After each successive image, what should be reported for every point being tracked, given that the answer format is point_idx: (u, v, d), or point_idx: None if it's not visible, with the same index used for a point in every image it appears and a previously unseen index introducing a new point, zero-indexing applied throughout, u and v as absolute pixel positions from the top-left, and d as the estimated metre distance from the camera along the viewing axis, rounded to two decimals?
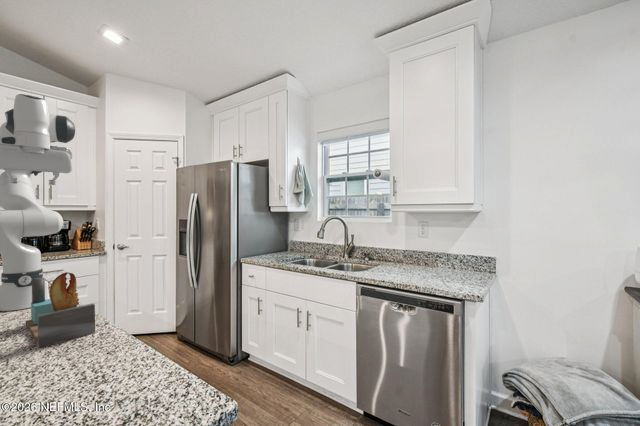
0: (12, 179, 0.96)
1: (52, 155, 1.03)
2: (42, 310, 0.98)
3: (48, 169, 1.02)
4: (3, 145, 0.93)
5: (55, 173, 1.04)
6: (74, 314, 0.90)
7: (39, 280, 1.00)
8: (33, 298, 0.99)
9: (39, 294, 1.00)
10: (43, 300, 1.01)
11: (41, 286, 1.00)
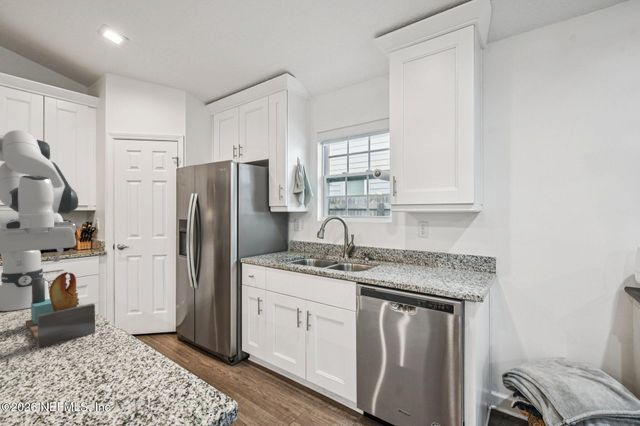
0: (17, 262, 0.96)
1: (57, 232, 1.03)
2: (42, 310, 0.98)
3: (52, 247, 1.02)
4: (8, 230, 0.93)
5: (59, 249, 1.04)
6: (74, 314, 0.90)
7: (39, 280, 1.00)
8: (33, 298, 0.99)
9: (39, 294, 1.00)
10: (43, 300, 1.01)
11: (41, 286, 1.00)
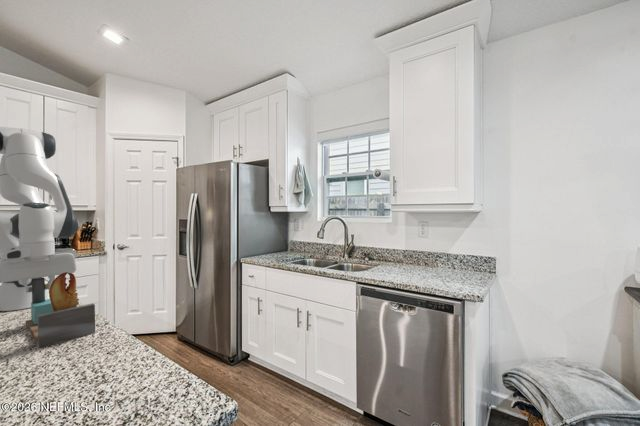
0: (28, 289, 0.98)
1: (57, 259, 1.03)
2: (42, 310, 0.98)
3: (53, 274, 1.02)
4: (8, 260, 0.93)
5: (50, 277, 1.02)
6: (74, 314, 0.90)
7: (39, 280, 1.00)
8: (33, 298, 0.99)
9: (39, 294, 1.00)
10: (43, 300, 1.01)
11: (41, 286, 1.00)
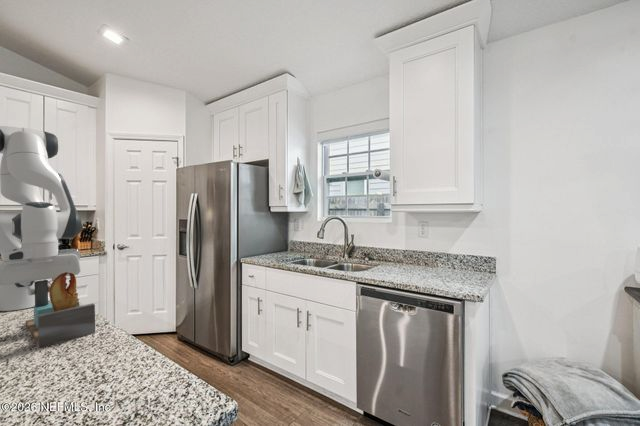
0: (30, 291, 0.95)
1: (61, 260, 1.00)
2: None
3: (56, 276, 0.99)
4: (11, 261, 0.90)
5: (54, 279, 0.99)
6: (74, 314, 0.90)
7: (42, 283, 0.96)
8: (36, 301, 0.96)
9: (42, 297, 0.96)
10: (46, 303, 0.97)
11: (44, 289, 0.97)
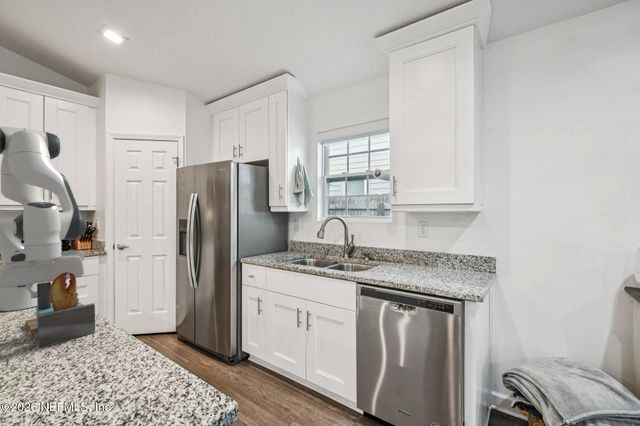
0: (33, 294, 0.92)
1: (64, 262, 0.97)
2: None
3: None
4: (12, 263, 0.87)
5: None
6: (74, 314, 0.90)
7: (45, 285, 0.93)
8: (39, 304, 0.93)
9: (45, 300, 0.93)
10: (49, 306, 0.94)
11: (47, 291, 0.94)
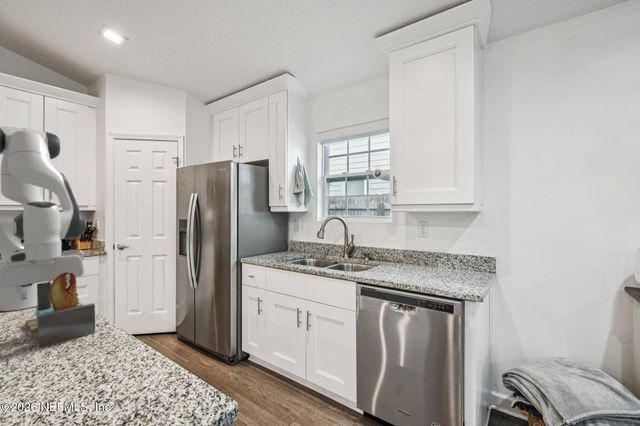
0: (22, 295, 0.90)
1: (64, 261, 0.97)
2: None
3: None
4: (12, 263, 0.87)
5: None
6: (74, 314, 0.90)
7: (45, 285, 0.93)
8: (38, 304, 0.93)
9: (45, 300, 0.93)
10: (49, 306, 0.94)
11: (47, 291, 0.94)
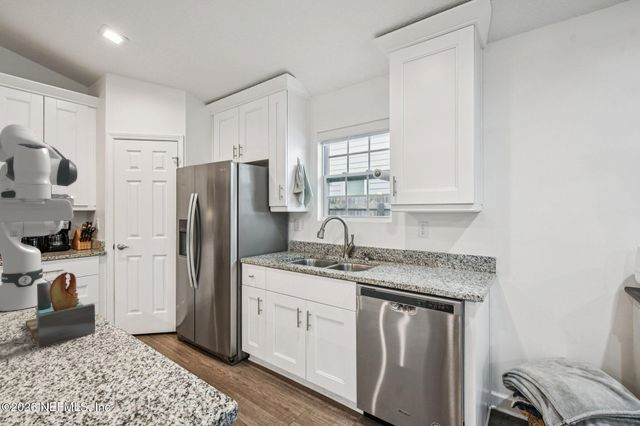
0: (12, 233, 0.93)
1: (54, 204, 0.99)
2: None
3: (49, 219, 0.99)
4: (3, 199, 0.90)
5: (56, 222, 1.01)
6: (74, 314, 0.90)
7: (45, 285, 0.93)
8: (38, 304, 0.93)
9: (45, 300, 0.93)
10: (49, 306, 0.94)
11: (47, 291, 0.94)
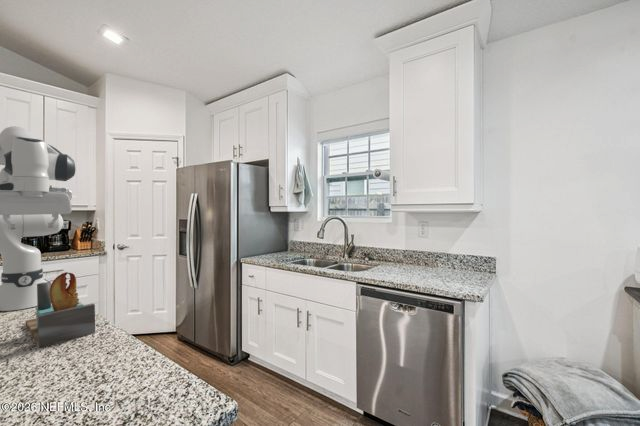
0: (10, 225, 0.93)
1: (52, 197, 1.00)
2: None
3: (47, 212, 0.99)
4: (1, 192, 0.90)
5: (54, 215, 1.01)
6: (74, 314, 0.90)
7: (45, 285, 0.93)
8: (38, 304, 0.93)
9: (45, 300, 0.93)
10: (49, 306, 0.94)
11: (47, 291, 0.94)
